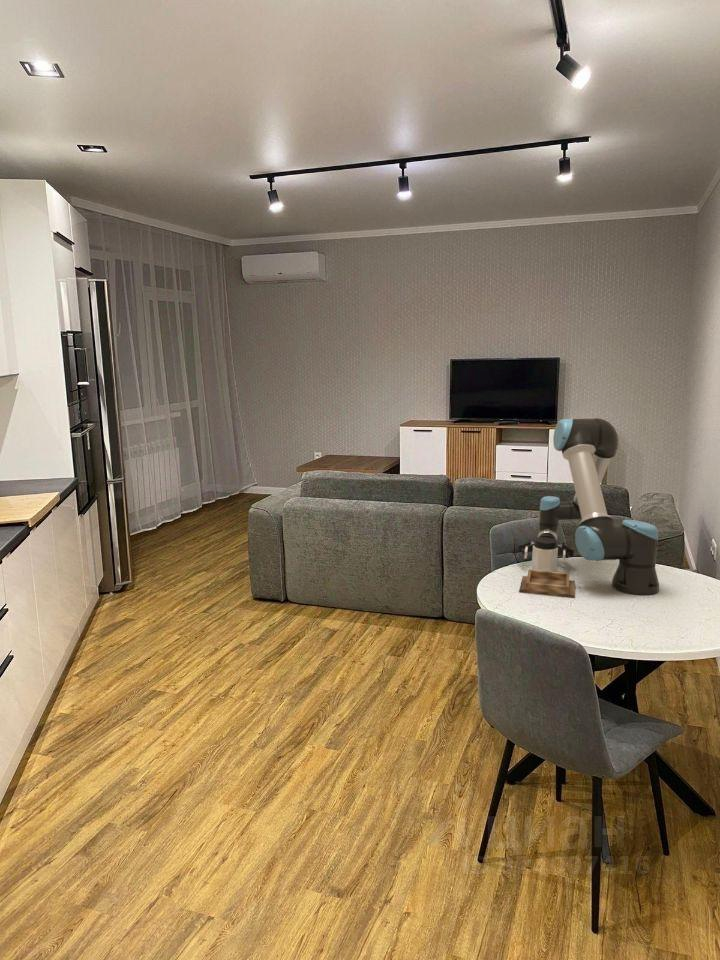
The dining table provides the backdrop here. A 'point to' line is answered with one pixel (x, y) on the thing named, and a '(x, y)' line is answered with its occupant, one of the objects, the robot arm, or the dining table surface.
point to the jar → (545, 554)
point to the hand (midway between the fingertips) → (544, 556)
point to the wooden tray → (548, 584)
